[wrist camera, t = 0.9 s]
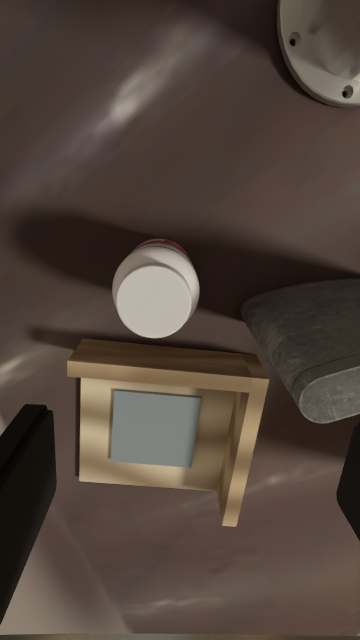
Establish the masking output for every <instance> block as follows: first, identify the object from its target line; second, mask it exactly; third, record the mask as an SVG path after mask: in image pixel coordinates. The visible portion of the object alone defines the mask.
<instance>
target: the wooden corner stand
mask: <svg viewBox="0 0 360 640" xmlns="http://www.w3.org/2000/svg"><path fill="white" fill-rule="evenodd" d="M67 376H68V377H79V378H81V406H80V473H79V481H86V482H99V483H113V484H127V485H140V486H154V487H167V488H181V489H195V490H208V491H217V494H218V501H219V508H220V514H221V521H222V526H234V527H236V526H237V521H238V517H239V513H240V508H241V504H242V499H243V495H244V490H245V486H246V482H247V477H248V473H249V468H250V464H251V459H252V455H253V450H254V446H255V442H256V437H257V433H258V428H259V424H260V419H261V415H262V411H263V406H264V402H265V397H266V393H267V388H268V384H269V378H268V376H267V374H266V372H265V370H264V369H263V367H262V365H261V363H260V361H259V360H258V358H257V356H256V355H250V354H240V353H229V352H219V351H208V350H198V349H187V348H177V347H167V346H156V345H146V344H135V343H125V342H114V341H104V340H93V339H82V341H81V342H80V344H79V345H78V347H77V348H76V349H75V351H74V352H73V354H72V355H71V357H70V358H69V359H68V361H67ZM115 389H124V390H135V391H146V392H158V393H169V394H180V395H192V396H202V401H201V407H200V414H199V420H198V427H197V433H196V440H195V446H194V453H193V459H192V466H191V468H188V467H175V466H162V465H149V464H136V463H123V462H111V445H112V427H113V408H114V390H115Z"/></svg>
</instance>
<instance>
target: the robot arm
mask: <svg viewBox="0 0 360 640" xmlns="http://www.w3.org/2000/svg"><path fill="white" fill-rule="evenodd" d="M277 31H278V38H279V45H280V49H281V52H282V55H283V58H284V61H285V64H286V65H287V67H288V69H289V71H290V73H291V75H292V77H293V78H294V79H295V81H296V82H297V83H298V84H299V85H300V86H301V88H302V89H303V90H304V91H305V92H307V93H308V94H309V95H311V96H312V97H313V98H315V99H316V100H319V101H321V102H323V103H325V104H327V105H331V106H336V107H341V108H355V107H360V0H278V4H277ZM290 41H292V42H293V43H294V47H293V46H291V45H290V43H289V42H290ZM342 92H343V93H344V94H345V97H344V98H343V96H342ZM55 490H56V460H55V440H54V419H53V411H52V410H47V406H46V405H35V404H25V405H24V406H23V407H22V409H21V410H20V411H19V413H18V414H17V415H16V416H15V418H14V419H13V420H12V422H11V423H10V424H9V426H8V427H7V428H6V429H5V431H4V432H3V433H2V435H1V436H0V624H1V622H2V620H3V618H4V615H5V613H6V610H7V608H8V606H9V603H10V601H11V598H12V596H13V593H14V591H15V589H16V586H17V584H18V581H19V579H20V577H21V574H22V572H23V569H24V567H25V565H26V562H27V560H28V557H29V555H30V552H31V550H32V548H33V545H34V543H35V540H36V538H37V536H38V533H39V531H40V528H41V526H42V523H43V521H44V519H45V516H46V514H47V511H48V509H49V507H50V504H51V502H52V499H53V497H54V494H55ZM336 495H337V501H338V504H339V506H340V508H341V510H342V511H343V513H344V515H345V517H346V518H347V520H348V522H349V523H350V525H351V527H352V529H353V530H354V532H355V534H356V535H357V537H358V539H359V540H360V423H359V425H356V426H355V428H354V431H353V435H352V438H351V442H350V445H349V449H348V453H347V456H346V460H345V464H344V467H343V471H342V474H341V478H340V482H339V485H338V489H337V494H336ZM0 640H360V636H311V635H229V634H29V635H28V634H23V635H0Z"/></svg>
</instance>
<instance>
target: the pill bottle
mask: <svg viewBox="0 0 360 640" xmlns="http://www.w3.org/2000/svg"><path fill="white" fill-rule="evenodd" d="M112 294H113V300H114V303H115V306H116V308H117V311H118V314H119V316H120V318H121V320H122V321H123V323H124V324H125V325H126V326H127V327H128V328H129V329H130V330H131V331H133V332H134V333H136V334H138V335H140V336H143V337H148V338H161V337H165V336H168V335H171V334H173V333H174V332H176V331H177V330H179V329H180V328H181V327H182V326H183V325H184V323H185V322H186V321H187V320H188V319H189V318H190V317H191V315H192V314H193V312H194V311H195V309H196V306H197V303H198V299H199V281H198V278H197V274H196V272H195V269H194V267H193V264H192V261H191V259H190V257H189V255H188V254H187V252H186V251H185V250H184V249H183V248H182V247H181V246H179V245H178V244H177V243H175V242H173V241H170V240H167V239H151V240H148V241H145V242H143V243H141V244H140V245H138V246H137V247H136V248H135V249H134V250H133V251H132V252H131V253H130V254H129V255H128V256H127V257H126V258H125V259H124V261H123V262H122V263H121V264H120V266H119V267H118V269H117V271H116V273H115V276H114V280H113V286H112Z"/></svg>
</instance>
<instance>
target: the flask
mask: <svg viewBox="0 0 360 640" xmlns="http://www.w3.org/2000/svg"><path fill="white" fill-rule="evenodd" d="M241 316H242V318H243V320H244V321H245V323H246V325H247V326H248V328H249V329H250V331H251V333H252V334H253V336H254V337H255V339H256V341H257V342H258V344H259V345H260V347H261V349H262V350H263V352H264V354H265V355H266V357H267V358H268V360H269V362H270V363H271V365H272V366H273V368H274V370H275V371H276V373H277V374H278V376H279V378H280V379H281V381H282V382H283V384H284V386H285V387H286V389H287V390H288V392H289V394H290V395H291V397H292V398H293V400H294V402H295V403H296V405H297V407H298V408H299V410H300V411H301V413H302V414H303V416H304V417H305V418H307V419H308V420H310V421H312V422H315V423H330V422H333V421H337V420H340V419H343V418H347V417H350V416H354V415H357V414H360V279H335V280H325V281H317V282H310V283H303V284H298V285H293V286H288V287H284V288H280V289H276V290H272V291H269V292H265V293H262V294H259V295H256V296H253V297H250V298H248V299H247V300H246V301H245V302H244V303H243V304H242V307H241Z"/></svg>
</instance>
